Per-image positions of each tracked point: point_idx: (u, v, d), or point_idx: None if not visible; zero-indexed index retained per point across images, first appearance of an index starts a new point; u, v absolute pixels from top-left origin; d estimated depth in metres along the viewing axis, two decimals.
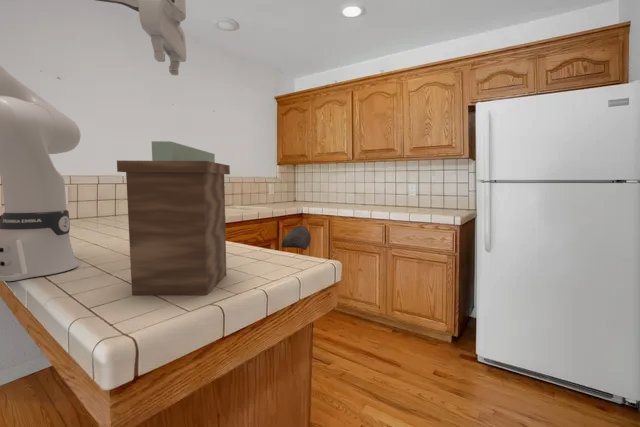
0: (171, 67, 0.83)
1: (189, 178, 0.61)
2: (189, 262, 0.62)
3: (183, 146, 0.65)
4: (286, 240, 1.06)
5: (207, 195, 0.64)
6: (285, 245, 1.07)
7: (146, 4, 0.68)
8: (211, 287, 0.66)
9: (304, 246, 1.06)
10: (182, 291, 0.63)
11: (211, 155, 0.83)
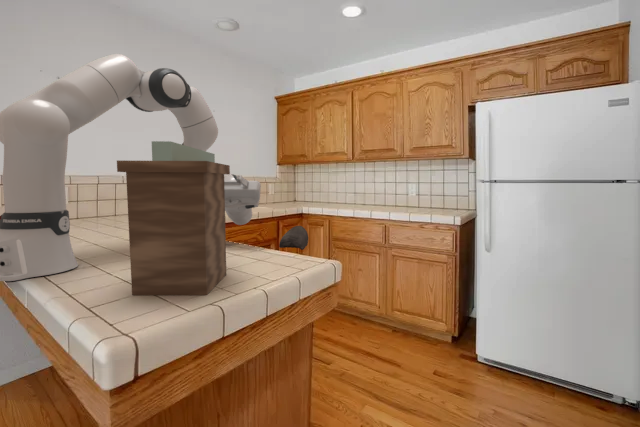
0: None
1: (189, 178, 0.61)
2: (189, 262, 0.62)
3: (183, 146, 0.65)
4: (284, 240, 1.06)
5: (207, 195, 0.64)
6: (283, 245, 1.07)
7: (260, 190, 1.08)
8: (211, 287, 0.66)
9: (302, 246, 1.05)
10: (182, 291, 0.63)
11: (211, 155, 0.83)
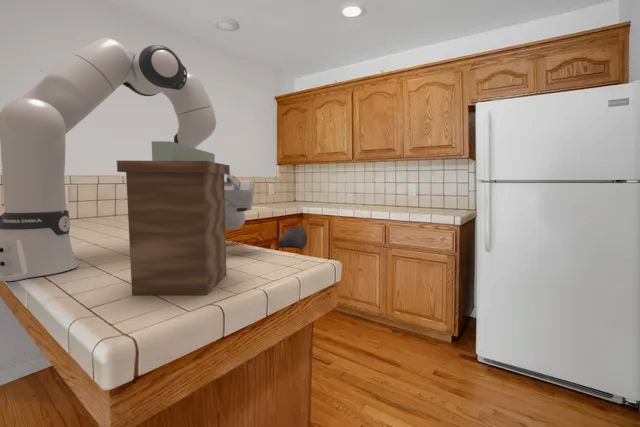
0: None
1: (189, 178, 0.61)
2: (189, 262, 0.62)
3: (183, 146, 0.65)
4: (283, 240, 1.06)
5: (207, 195, 0.64)
6: (282, 245, 1.07)
7: None
8: (211, 287, 0.66)
9: (301, 246, 1.05)
10: (182, 291, 0.63)
11: (211, 155, 0.83)
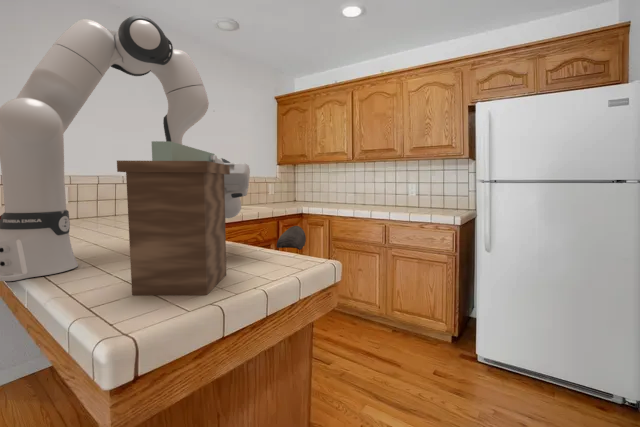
0: None
1: (189, 178, 0.61)
2: (189, 262, 0.62)
3: (183, 146, 0.65)
4: (281, 240, 1.06)
5: (207, 195, 0.64)
6: (280, 245, 1.07)
7: (249, 175, 0.90)
8: (211, 287, 0.66)
9: (299, 246, 1.05)
10: (182, 291, 0.63)
11: None
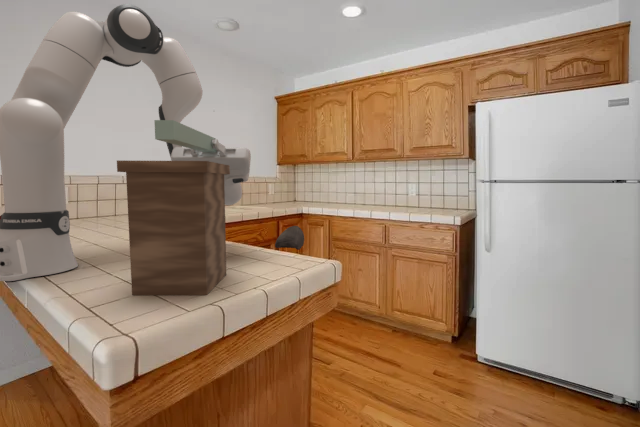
0: None
1: (189, 178, 0.61)
2: (189, 262, 0.62)
3: (185, 126, 0.66)
4: (280, 240, 1.06)
5: (207, 195, 0.64)
6: (279, 245, 1.07)
7: None
8: (211, 287, 0.66)
9: (298, 246, 1.05)
10: (182, 291, 0.63)
11: None
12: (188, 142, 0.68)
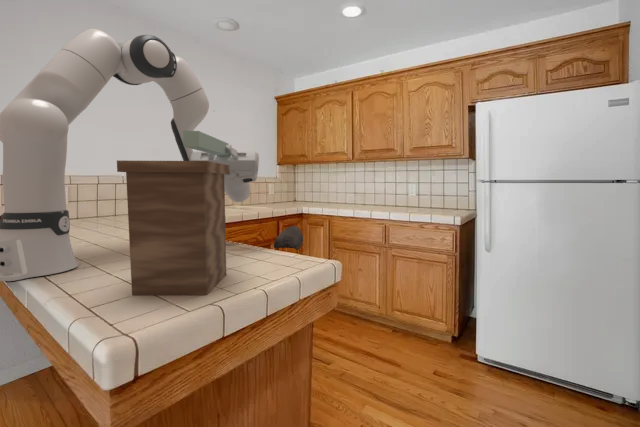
0: None
1: (189, 178, 0.61)
2: (189, 262, 0.62)
3: (207, 135, 0.79)
4: (279, 240, 1.05)
5: (207, 195, 0.64)
6: (278, 245, 1.07)
7: (258, 163, 1.04)
8: (211, 287, 0.66)
9: (297, 246, 1.05)
10: (182, 291, 0.63)
11: None
12: (209, 148, 0.81)
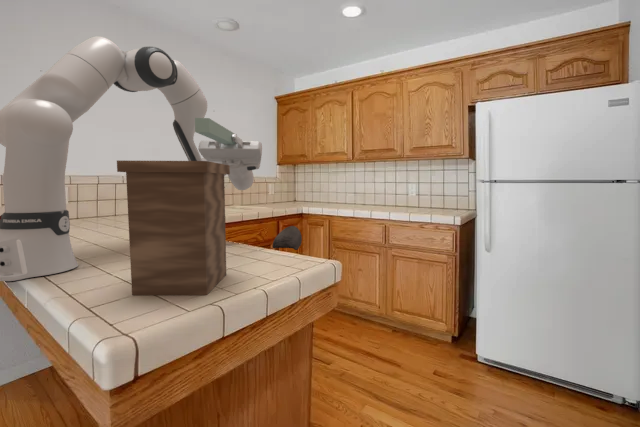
0: None
1: (189, 178, 0.61)
2: (189, 262, 0.62)
3: (215, 123, 0.87)
4: (277, 240, 1.05)
5: (207, 195, 0.64)
6: (276, 246, 1.06)
7: None
8: (211, 287, 0.66)
9: (296, 246, 1.05)
10: (182, 291, 0.63)
11: None
12: (217, 135, 0.89)
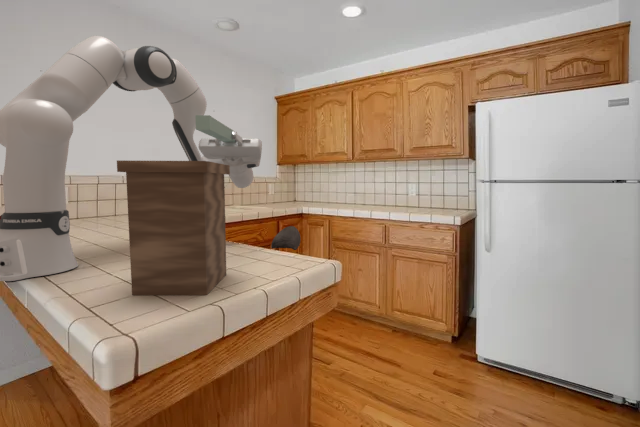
0: None
1: (189, 178, 0.61)
2: (189, 262, 0.62)
3: (216, 120, 0.88)
4: (276, 241, 1.05)
5: (207, 195, 0.64)
6: (275, 246, 1.06)
7: None
8: (211, 287, 0.66)
9: (295, 246, 1.05)
10: (182, 291, 0.63)
11: None
12: (217, 132, 0.89)
